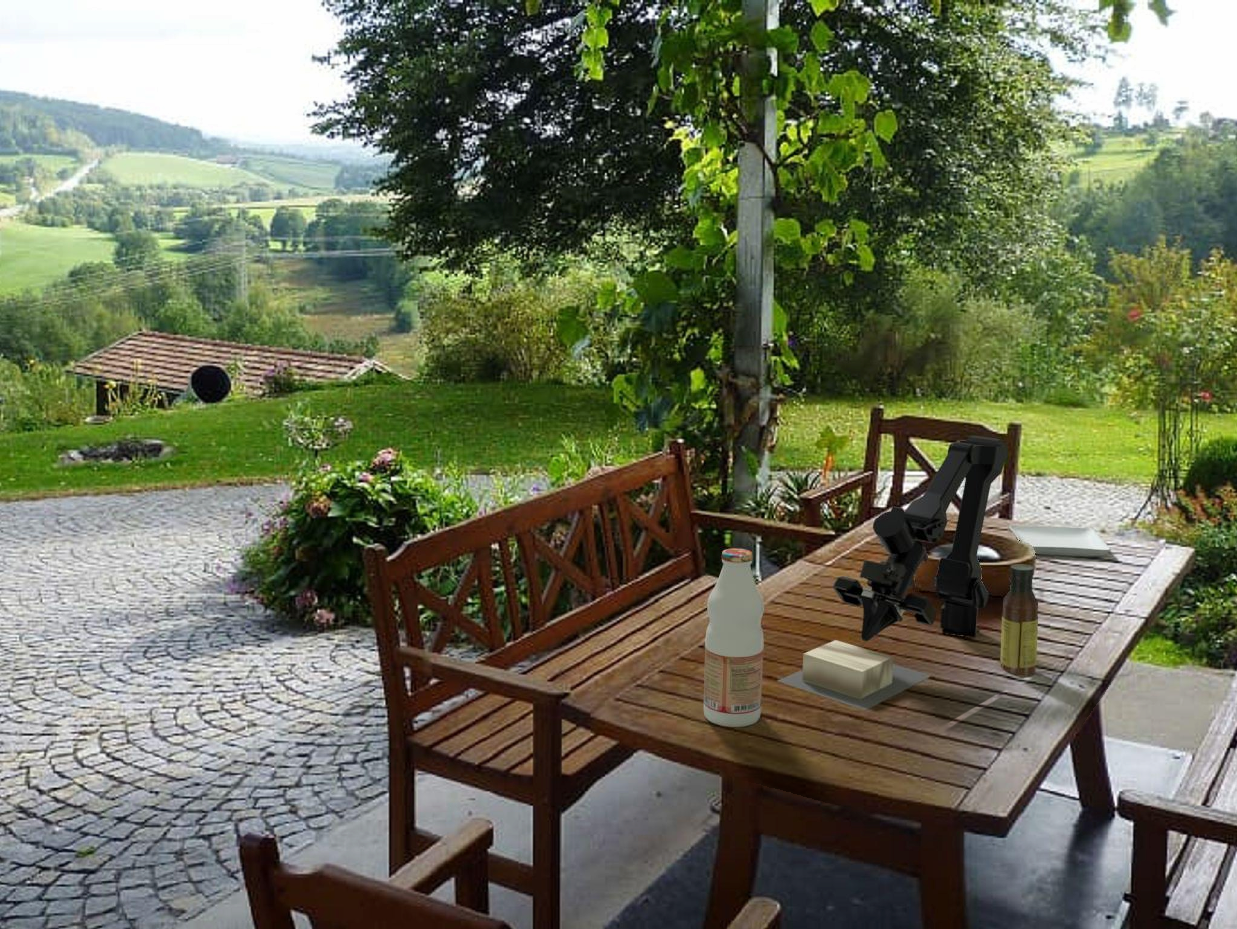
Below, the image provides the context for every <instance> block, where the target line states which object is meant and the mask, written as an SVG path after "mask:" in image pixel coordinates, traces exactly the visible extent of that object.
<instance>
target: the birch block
mask: <svg viewBox="0 0 1237 929" xmlns="http://www.w3.org/2000/svg"><path fill="white" fill-rule="evenodd" d="M802 656H803V657H802V658H803V659H802V670H803V674H802V681H805V682H808V683H811V684H814V685H817V686H820V687H823V688H826V689H829V690H832V691H836V692H839V693H842V694H845V695H848V696H851V697H854V698H857V699H860V700H861V699H863V698H865V697H867V696H869V695H871V694H873V693H875V692H877V691H879V690H881V689H883V688H885V687H887V686H889V685H891V684H892V676H893V664H894V656H891V655H889V654H885V653H881V652H879V651H874V650H870V649H868V648H864V647H861V646H858V645H857V646H856V645H854V644H851V643H846V642H844V641H840V640H836V639H834V640H831V642H830V641H829V642H828V643H825V644H822V645H821V646H818V647H816V648H813V649H811V650H808V651H807V652H804V653H803V654H802Z"/></svg>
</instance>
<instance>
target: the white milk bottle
mask: <svg viewBox="0 0 1237 929" xmlns="http://www.w3.org/2000/svg"><path fill="white" fill-rule="evenodd" d="M753 555H754V554H753V552H752V551H750V550H748V549H745V548H728V549H724V550H723V551H722V553H721V562H722V568H721V571H720V574H719V575H718V576H719V577H718V579H717V581H716V584H715V585H714V587H713V589H712V590H711V591H710V594H709V595H708V598H707V603H706V604H707V605H706V607H707V613H708V617H709V623H708V625H707V627H706V632H705V640H704V641H705V642H704V643H705V644H704V677H703V680H704V681H703V682H704V683H703V714H704V717H705V719H706V720H708V721H709V722H711V723H713V724H715V725H718V726H723V727H728V728H742V727H747V726H751V725H753V724H755V723H757V722H758V721H759V719H760V717H761V713H762V697H763V696H762V694H763V693H762V692H763V668H764V667H763V666H764V662H763V660H764V647H765V646H764V642H765V641H764V632H763V628H762V626H761V625H762V624H761V622H762V618H763V615H764V610H765V603H764V599H763V595H762V594H761V592H760V591H759V589H758V587H757V585H756V581H755V579H754V575H753V572H752V569H751V564H752V563H753V559H754V558H753V557H754V556H753Z"/></svg>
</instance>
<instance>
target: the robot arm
mask: <svg viewBox="0 0 1237 929" xmlns="http://www.w3.org/2000/svg"><path fill="white" fill-rule="evenodd" d="M1008 449H1009V448H1008V447H1007V445H1005V442H1004V441H1003V440H1002V439H998V438H992V437H986V436H980V435H979V436H977V435H970V436H968V438H966V440H956V441H955V442H950V444H949V446H948V449H947V455H946V456H945V458H944V460H943V461H942V463H941V465H940V467H939V468H938V470H937V472H936V474H935V475H934V477H933V478H932V481H931V482H930V484H929V486H928V487H927V489H926V491H925V492H924V494H923V495H921V496H920V497H918V498H917V499H914V500H913V501H911V503H910V504H909V505H908V506H907V508H906V509H905V510H904V508H903V507H897V506H892V507H891V510H889V511H886V512H883V513H881V514H880V515H879V516H878V517H876V518H875V519H874V521H873V524H872V529H873V532H874V533H875V535H876V537H877V538H878V540H879V541H880V543H881V545H882V546H883V548H884V549H885V551H886V552H887V553H888V556H887V557H886V560H885V561H883V560H882V561H880V562H876V561H870V560H867V559H865V560H863V563H862V567H861V570H860V573H859V578H861V579H866V580H867V581H866V584H867V586H868V587H871V588H867V587H863V586H862V585H861V583H860V581H859V580H858V579H856V578H851V577H847V576H839V577H837V578H836V579H835V581H834V583H833V585H832V588H833V590H834V591H835V593H836V594H837V595H838V597H839V599H840V600H841V601H842V602H843V603H845V604H846V605H850V606H853V607H854V606H855V607H859V606H862V608H863V609H862V610H863V611H862V612H863V617H862V618H863V619H862V625H861V626H862V627H861V635H860V636H861V637H860V638H861V639H862V641H863V642H864V641H865V642H869V641H870V640H871V639H872V638H875V636H877V635H878V634H880V632H882V631H883V630H885V629H887V628H888V627H890V626H892V625H893V624H896V623H897V622H899V623H901V622H903V620H904V619H903V617H902V616H904V615H903V614H904V613H905V612H909V613H913V614H914V618H915V620H916V622H917V623H918V624H922V625H926V626H930V627H932V626H933V625H934V622H935V620H936V618H937V611H936V610H935V608H934V605H932V602H931V601H930V599H929V597H927V596H924V595H920V594H917V593H916V594H915V593H907V591H908V590H909V589H913V588H914V585H916V584H915V581H914V579H915V578H914V576H915V574H916V572H917V570H918V568H919V566H920V564H921V562H928V555H927V554H928V553H927V547H925V546H924V545H923V544H922V542H925V543H930V544H934V543H937V542H939V541H940V539H941V538H942V537H943V535H944V534H945V530H946V527H947V524H948V517H947V511H948V508H949V506H950V504H951V503H952V501H953V500H954V498H955V496H956V494H957V492H958V491H959V489H960V487H961V485H962V483H963V481H965V482H964V485H963V490H962V498H961V501H960V507H959V511H958V512H959V513H958V517H957V522H956V528H955V531H954V532H955V533H954V535H953V536H954V538H953V542H952V547H951V551H950V552H949V553H948V554H947V556H946V557H945V558H941V559H940V561H939V567H938V572H937V574H936V577H935V586H936V599H937V600H938V601H944V604H943V605H942V606H941V611H940V612H941V613H940V614H941V615H940V628H941V629H942V630H941V633H942V634H943V633H948V634H947V635H949V634H955V635H954V636H957V635H963V636H962V637H966V636H969V637H968V638H976V637H977V632H978V624H977V623H978V612H979V609H980V608H981V609H983V608H985V607H986V605H987V604H988V600H989V596H988V595H989V593H988V591H987V590H986V588H985V586H984V584H983V582H982V581H981V579H982V568H981V566H980V563H979V560H978V558H977V557H978V550H979V546H980V542H981V534H982V531H983V526H984V521H985V514H986V510H987V505H988V501H989V500H988V499H989V495H990V490H991V485H992V483H993V482H994V481H995V480H997V478H998V477H999V476H1000V475H1001V474H1002V473H1003V469H1004V466H1005V463H1006V462H1007V460H1008V456H1009V450H1008Z"/></svg>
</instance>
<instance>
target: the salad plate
mask: <svg viewBox="0 0 1237 929" xmlns="http://www.w3.org/2000/svg"><path fill="white" fill-rule="evenodd" d="M1008 527H1009V529H1010V531H1011V532H1012V534H1013V535H1014V536H1015V537H1016V538H1017V540H1018V541H1019V540H1021V541H1022V542H1026V543H1029V544H1030V545H1032V547H1033V548H1034V550H1035V552H1036V554H1035V555H1043V556H1047V555H1048V556H1061V557H1062V556H1065V557H1080V558H1081V557H1085V558H1086V557H1088V558H1090V557H1100V556H1103V555H1107V554H1108V553H1110V551H1111V548H1110V546H1108V544H1107V543H1106V542H1105V541H1104V540H1103V539H1102V538H1101V537H1100V535H1099V534H1098V533H1097V532H1096V531H1095V530H1094V528H1091V527H1075V526H1073V527H1071V526H1054V525H1053V526H1048V525H1047V526H1045V525H1011V524H1010V525H1009V526H1008Z"/></svg>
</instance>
